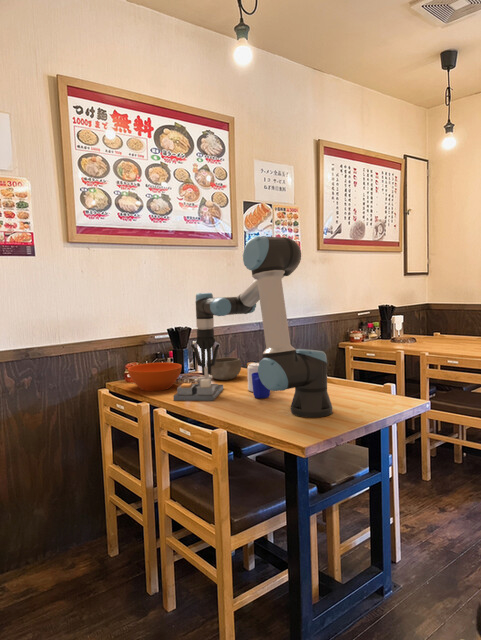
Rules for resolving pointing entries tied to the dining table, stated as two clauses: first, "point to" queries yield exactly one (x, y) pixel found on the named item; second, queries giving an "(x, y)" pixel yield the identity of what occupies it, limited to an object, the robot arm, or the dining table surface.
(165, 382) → the bowl
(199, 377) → the slider knob
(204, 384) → the button ivory
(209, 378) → the rocker
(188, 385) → the button orange
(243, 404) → the dining table surface
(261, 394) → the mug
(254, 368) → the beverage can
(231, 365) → the bowl
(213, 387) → the panel
